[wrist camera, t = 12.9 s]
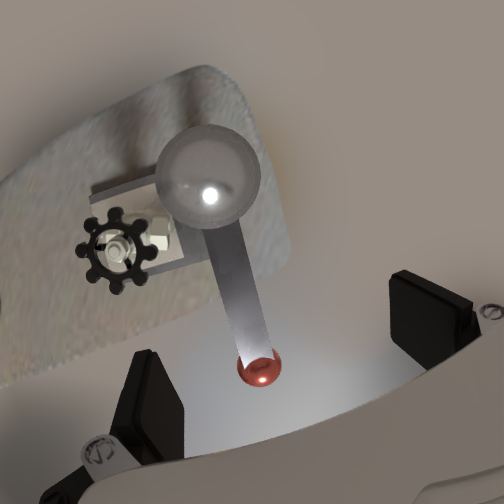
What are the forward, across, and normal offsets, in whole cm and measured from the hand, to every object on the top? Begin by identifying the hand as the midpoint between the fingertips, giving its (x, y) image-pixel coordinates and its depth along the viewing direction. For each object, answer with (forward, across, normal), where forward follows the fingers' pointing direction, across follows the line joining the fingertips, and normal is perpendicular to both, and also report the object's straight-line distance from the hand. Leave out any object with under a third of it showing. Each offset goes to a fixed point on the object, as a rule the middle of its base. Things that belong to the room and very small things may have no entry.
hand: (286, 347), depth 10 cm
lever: (+5, +1, -2) cm, 6 cm away
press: (+25, +7, -4) cm, 26 cm away
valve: (+24, +9, -4) cm, 26 cm away
